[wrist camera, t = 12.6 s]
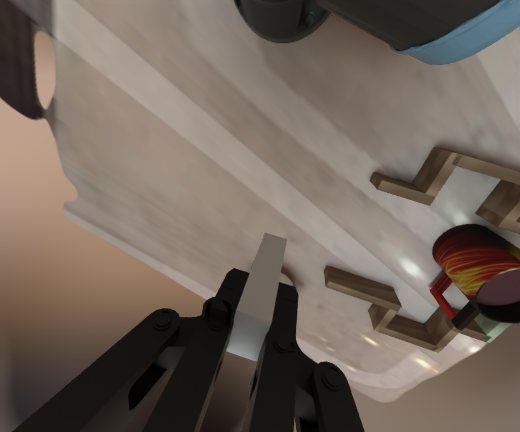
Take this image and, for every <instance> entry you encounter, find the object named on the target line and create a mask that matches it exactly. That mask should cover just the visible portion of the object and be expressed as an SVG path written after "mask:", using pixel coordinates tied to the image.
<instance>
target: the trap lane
mask: <svg viewBox="0 0 520 432" xmlns="http://www.w3.org/2000/svg"><path fill="white" fill-rule="evenodd" d="M456 166H459V167H462V168H465V169H469V170H472V171H475V172H479V173H482V174H485V175H489V176H492V177H495V178H499V179H502V180H501V181H500V182H499V184H498V185H497V186H496V188H495V189H494V190H493V191H492V193H491V194H490V195H489V197H488V198H487V199H486V200H485V202H484V203H483V204H482V205H481V207H480V208H479V209H478V211H477V212H476V213H475V214H477V215H479V216H480V217H482V218H483V219H485V220H487V221H488V222H490V223H492V224H493V225H495V226H497V227H499V228H502V229H506V230H509V231H512V232H515V233H518V234H520V172H519V171H515V170H512V169H509V168H505V167H502V166H498V165H495V164H492V163H488V162H485V161H481V160H478V159H475V158H471V157H468V156H465V155H461V154H458V153H454V152H451V151H447V150H443V149H440V148H435V147H434V148H433V150H432V151H431V153H430V155H429V156H428V158H427V160H426V161H425V163H424V165H423V166H422V168H421V170H420V171H419V173H418V175H417V176H416V178H415V180H414V181H413V183H412V184H410V183H406V182H403V181H400V180H397V179H393V178H390V177H387V176H384V175H380V174H377V173H373V175H372V177H371V179H370V182H371V183H372V184H373V185H374V186H375V187H376V188H377V190H381V191H384V192H387V193H390V194H393V195H397V196H400V197H403V198H406V199H409V200H413V201H416V202H419V203H422V204H425V205H429V206H430V205H431V203H432V202H433V200H434V199H435V197H436V196H437V194H438V193H439V191H440V190H441V188H442V187H443V185H444V184H445V182H446V181H447V179H448V178H449V176H450V175H451V173H452V172H453V170H454V169H455V167H456ZM324 275H325V285H326V287H327V288H330V289H333V290H336V291H339V292H342V293H345V294H348V295H350V296H353V297H356V298H359V299H362V300H365V301H368V302H371V303H373V305H372V306H371V307H370V309H369V310H368V311H369V315H370V318H371V321H372V325H373V328H374V330H375V331H378V332H380V333H383V334H386V335H389V336H392V337H395V338H398V339H400V340H403V341H406V342H409V343H412V344H415V345H417V346H420V347H423V348H426V349H429V350H432V351H435V352H438V353H439V352H440V351H441V350H442V349H443V348H444V347H445V346H446V345H447V344H448V343H449V342H450V341H451V340H452V339H453V338H454V337H455V336H456V335H457V334H458V333H461V334H464V335H467V336H470V337H472V338H475V339H478V340H481V341H484V342H487V343H490V342H491V341H492V340H493V339H494V338H496V337H497V336H498V335H499V334H500V333H501V332H502V331H504V330H505V329H506V328H507V327H508V326H509V325H510V324H512V323H510V324H509V323H500V322H496V321H493V320H490V319H488V318H486V317H484V316H483V315H482V314H481V313H480V314H479V315H478V316H477V317H476V318H475V319H474V320H473V321H472V322H471V323H470V324H469V325H468V326H467V327H465V328H464V329H463V330H462V331H461V330H459V329H456V328H455V326H454V325H453V323H452V322H451V320H450V319H449V317H448V316H447V314H446V313H445V311H444V310H443V309H442V307H441V306H440V307H439V308H438V309H437V310H436V311H435V312H434V314H433V315H432V316H431V317H430V318H429V319H428V320H427V321H426V323H425V324H422V323H419V322H416V321H413V320H410V319H407V318H404V317H401V316H398V315H396V313H397V312H398V311H399V309H400V308H401V307H402V305H401V303H400V301H399V299H398V297H397V295H396V293H395V291H394V289H393V288H392V287H389V286H386V285H383V284H380V283H377V282H375V281H372V280H369V279H366V278H363V277H360V276H357V275H354V274H351V273H348V272H345V271H342V270H339V269H336V268H333V267H330V266H326V268H325V270H324ZM452 309H453V310H454V311H455V313H456V314H458V313H459V312H460V310H457V309H454V308H452Z"/></svg>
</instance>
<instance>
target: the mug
mask: <svg viewBox="0 0 520 432" xmlns="http://www.w3.org/2000/svg"><path fill="white" fill-rule="evenodd" d="M432 254H433V258H434V259H435V261H436V262H437V263H438V265H439V266H440V267H441V268H442V269H443V270H444V272H445V273H444V274H443V276H442V277H441V278H440V279H439V280H438V282H437V283H436V284H435V285H434V286H433V287H432V288H431V290H430V292H431V293H432V295H433V296H434V298H435V299H436V301H437V302H438V304H439V305H440V306H441V307H442V309H443V310H444V311H445V313H446V314H447V316H448V317H449V319H450V320H451V322H452V323H453V325H454V326H455V328H456V329H459V330H461V331H462V330H463V329H464V328H465V327H467V326H468V325H469V324H470V323H471V322H472V321H473V320H474V319H475V318H476V317H477V316H478V315H479V314H480V313H481V314H482V315H483V316H484V317H486V318H488V319H490V320H493V321H496V322H500V323H509V324H510V323H520V249H519V248H518V247H516V246H514V245H513V244H511V243H510V242H508V241H507V240H505V239H504V238H502V237H501V236H499V235H497V234H496V233H494V232H493V231H491V230H490V229H488V228H487V227H484V226H481V225H476V224H465V225H460V226H456V227H454V228H451V229H449V230H447V231H446V232H444V233H443V234H442V235H441V236H439V238H438V239H437V240H436V242H435V243H434V246H433V251H432ZM452 282H454V283H455V285H456V286H457V287H458V288H459V289H460V290H461V292H462V293H463V294H464V295H465V296H466V297H467V299H468V300H469V302H468V303H467V304H466V305H465V306H464V307H463V308H462V310H461V311H460V312H459V313H458V314H456V313H455V311H454V310H453V309H452V307H451V306H450V305H449V303H448V302H447V300H446V299H445V298H444V296H443V295H442V294H443V292H444V291H445V290H446V289H447V288H448V287H449V285H450V284H451V283H452Z"/></svg>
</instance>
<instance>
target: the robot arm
mask: <svg viewBox="0 0 520 432" xmlns="http://www.w3.org/2000/svg"><path fill="white" fill-rule="evenodd" d="M234 2H235V5H236V7H237V9H238V11H239V13H240V15H241V16H242V18H243V19H244V21H245V22H246V23H247V25H248V26H249V27H250V28H251V29H252V30H253V31H254V32H255V33H256V34H257V35H259V36H260V37H262V38H264V39H266V40H268V41H271V42H276V43H289V42H294V41H297V40H300V39H302V38H304V37H306V36H308V35H309V34H311V33H312V32H313V31H315V30H316V29H317V28H318V27H319V26H320V25H321V24H322V23H323V22H324V21H325V20H326V18H327V17H328V16H329V14H330V13H333V14H335V15H337V16H339V17H340V18H342V19H344V20H346V21H348V22H349V23H351V24H353V25H355V26H357V27H358V28H360V29H362V30H364V31H366V32H368V33H369V34H371V35H373V36H375V37H377V38H378V39H380V40H382V41H384V42H386V43H387V44H389V45H390V47H391V49H392V50H393V51H395V52H397V53H402V54H408V55H410V56H412V57H414V58H416V59H419V60H421V61H423V62H425V63H427V64H434V65H443V64H450V63H454V62H457V61H460V60H462V59H465V58H467V57H469V56H472V55H474V54H476V53H478V52H480V51H481V50H483V49H485V48H487V47H488V46H490V45H492V44H493V43H495V42H496V41H498V40H500V39H501V38H503V37H504V36H506V35H507V34H509V33H510V32H512V31H513V30H515V29H516V28H517V27H519V26H520V0H234ZM286 241H287V239H284V238H281V237H277V236H274V235H271V234H267V233H265V234H264V237H263V239H262V242H261V245H260V247H259V250H258V253H257V255H256V258H255V261H254V263H253V266H252V269H251V272H250V273H248V272H245V271H242V270H239V269H235V268H233V269H232V270H231V271H229V272H228V273H227V275H226V277H225V279H224V281H223V282H222V284H221V287H220V288H219V290H218V292H217V294H216V296H215V297H212V298H210V299H208V300H207V301H206V302H205V303H204V304H203V311H202V315H200V316H197V317H179V314H178V313H177V312H176V311H175V310H172V309H166V308H163V309H159V310H156V311H154V312H153V313H151V314H150V315H149V316H147V317H146V318H145V319H144V320H143V321H142V322H140V323H139V324H138V325H137V326H136V327H135V328H133V329H132V330H131V331H130V332H129V333H128V334H126V335H125V336H124V337H123V338H122V339H121V340H119V341H118V342H117V343H116V344H115V345H113V346H112V347H111V348H110V349H109V350H108V351H106V352H105V353H104V354H103V355H102V356H100V357H99V358H98V359H97V360H96V361H95V362H93V363H92V364H91V365H90V366H89V367H88V368H86V369H85V370H84V371H83V372H82V373H81V374H79V375H78V376H77V377H76V378H75V379H74V380H72V381H71V382H70V383H69V384H68V385H66V386H65V387H64V388H63V389H62V390H61V391H59V392H58V393H57V394H56V395H55V396H54V397H52V398H51V399H50V400H49V401H48V402H46V403H45V404H44V405H43V406H42V407H41V408H39V409H38V410H37V411H36V412H35V413H34V414H32V415H31V416H30V417H29V418H28V419H27V420H25V421H24V422H23V423H22V424H21V425H20V426H18V427H17V428H16V429H15V430H14V431H12V432H121V431H122V430H123V429H124V428H125V427H126V425H127V424H128V423H129V422H130V421H131V419H132V418H133V417H134V416H135V414H136V413H137V412H138V410H139V409H140V408H141V407H142V406H143V405H144V403H145V402H146V401H147V400H148V398H149V397H150V396H151V395H152V394H153V392H154V391H155V390H156V389H157V388H158V386H159V385H160V384H161V383H162V381H163V380H164V379H165V378H166V377H167V375H168V374H169V373H170V372H171V370H172V369H175V370H174V371H173V374H172V375H171V377H170V379H169V381H168V383H167V385H166V387H165V389H164V391H163V393H162V395H161V397H160V398H159V400H158V402H157V404H156V406H155V408H154V410H153V412H152V414H151V416H150V418H149V420H148V422H147V424H146V425H145V427H144V429H143V431H142V432H199V430H200V427H201V424H202V421H203V418H204V415H205V412H206V410H207V407H208V404H209V401H210V398H211V395H212V392H213V389H214V386H215V383H216V381H217V377H218V375H219V372H220V369H221V366H222V362H223V359H224V355H225V353H226V351H228V352H231V353H234V354H236V355H239V356H242V357H245V358H248V359H251V360H253V361H256V362H257V361H258V362H257V367H256V370H255V373H254V375H253V378H252V381H251V383H250V384H251V389H250V394H249V398H248V403H247V408H246V412H245V417H244V421H243V427H242V430H241V432H293V431H294V415H295V423H296V430H297V432H364V428H363V426H362V422H361V419H360V417H359V413H358V411H357V408H356V405H355V402H354V399H353V396H352V393H351V390H350V387H349V384H348V381H347V379H346V377H345V375H344V373H343V372H342V371H341V370H340V369H339V367H337V366H336V365H334V364H333V363H330V362H320V363H319V364H317V363H316V362H315V361H313V360H312V359H310V358H309V357H307V356H306V355H305V354H304V353H303V352H302V351H301V349H300V348H299V346H298V344H297V341H296V324H297V308H298V293H297V290H296V288H295V287H294V286H291V285H288V284H285V283H281V282H279V279H280V274H281V268H282V263H283V257H284V252H285V246H286Z"/></svg>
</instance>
